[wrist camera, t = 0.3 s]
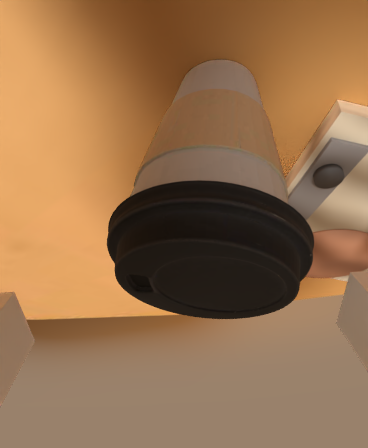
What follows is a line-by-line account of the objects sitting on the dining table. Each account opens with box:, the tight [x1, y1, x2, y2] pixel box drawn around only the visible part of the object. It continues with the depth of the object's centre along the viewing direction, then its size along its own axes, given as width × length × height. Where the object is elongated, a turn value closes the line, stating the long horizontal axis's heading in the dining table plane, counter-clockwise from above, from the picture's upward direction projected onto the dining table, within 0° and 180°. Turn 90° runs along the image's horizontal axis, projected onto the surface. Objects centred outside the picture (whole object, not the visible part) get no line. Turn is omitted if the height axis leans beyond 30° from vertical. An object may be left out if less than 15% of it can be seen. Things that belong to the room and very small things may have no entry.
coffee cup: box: [107, 60, 314, 319], centre depth 17 cm, size 9×9×15 cm
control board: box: [285, 99, 368, 281], centre depth 27 cm, size 22×16×12 cm
